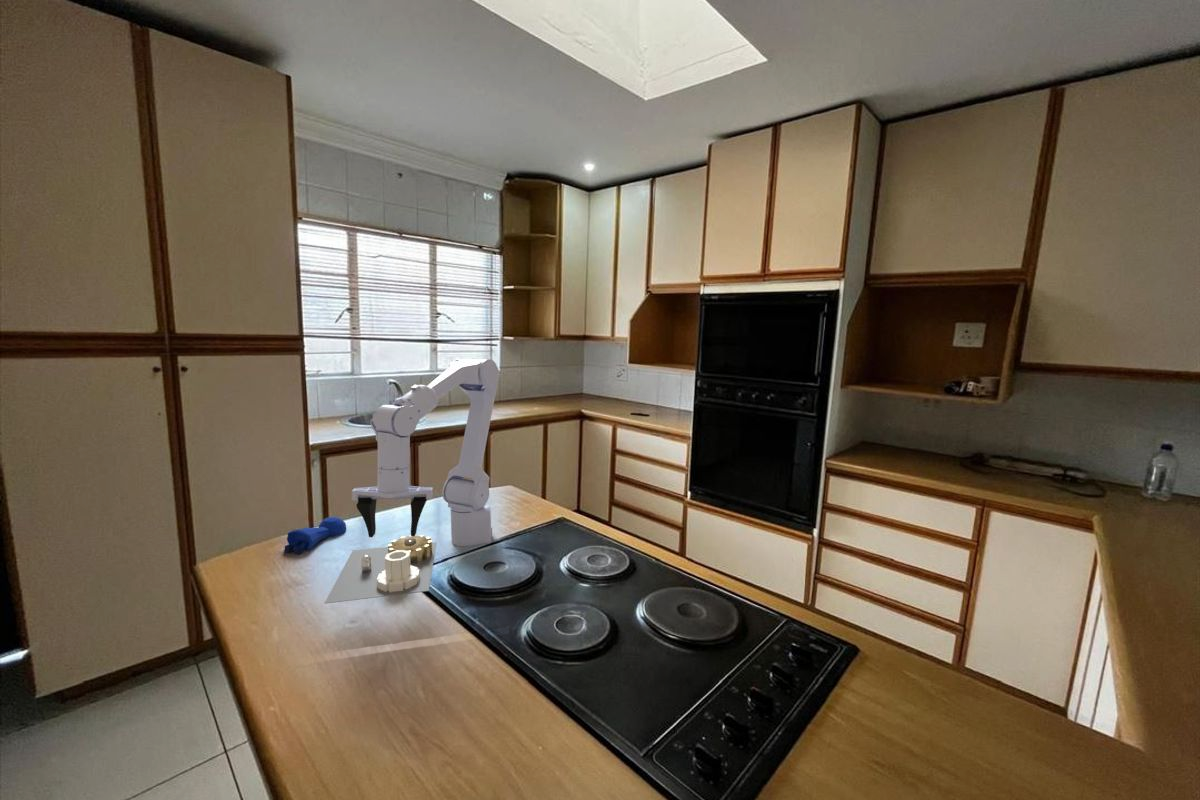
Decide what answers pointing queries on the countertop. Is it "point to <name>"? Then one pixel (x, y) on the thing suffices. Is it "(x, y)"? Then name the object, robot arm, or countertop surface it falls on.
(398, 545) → the sun gear
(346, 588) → the carrier plate
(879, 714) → the countertop surface
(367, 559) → the carrier pin
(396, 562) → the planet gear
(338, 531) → the toy
